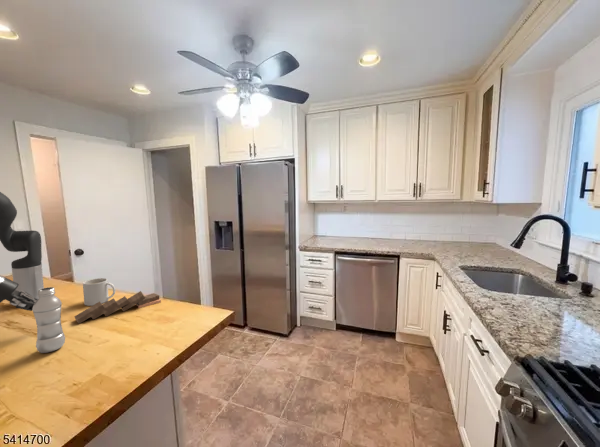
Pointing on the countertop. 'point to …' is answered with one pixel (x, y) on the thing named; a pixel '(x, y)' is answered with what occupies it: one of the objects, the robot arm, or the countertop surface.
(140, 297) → the domino
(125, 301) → the domino
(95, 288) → the mug
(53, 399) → the countertop surface
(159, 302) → the domino
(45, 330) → the plastic bottle
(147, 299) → the domino
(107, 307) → the domino
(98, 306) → the domino
